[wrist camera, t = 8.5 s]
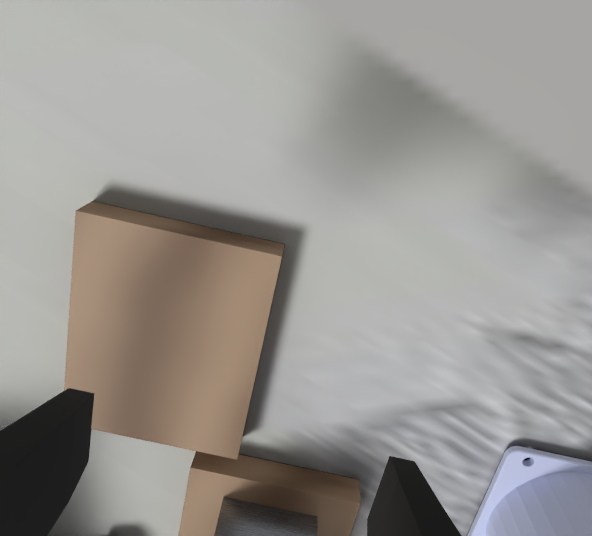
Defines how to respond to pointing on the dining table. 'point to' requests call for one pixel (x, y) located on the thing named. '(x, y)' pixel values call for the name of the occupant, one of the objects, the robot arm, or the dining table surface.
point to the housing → (262, 520)
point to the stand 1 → (167, 326)
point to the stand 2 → (267, 493)
